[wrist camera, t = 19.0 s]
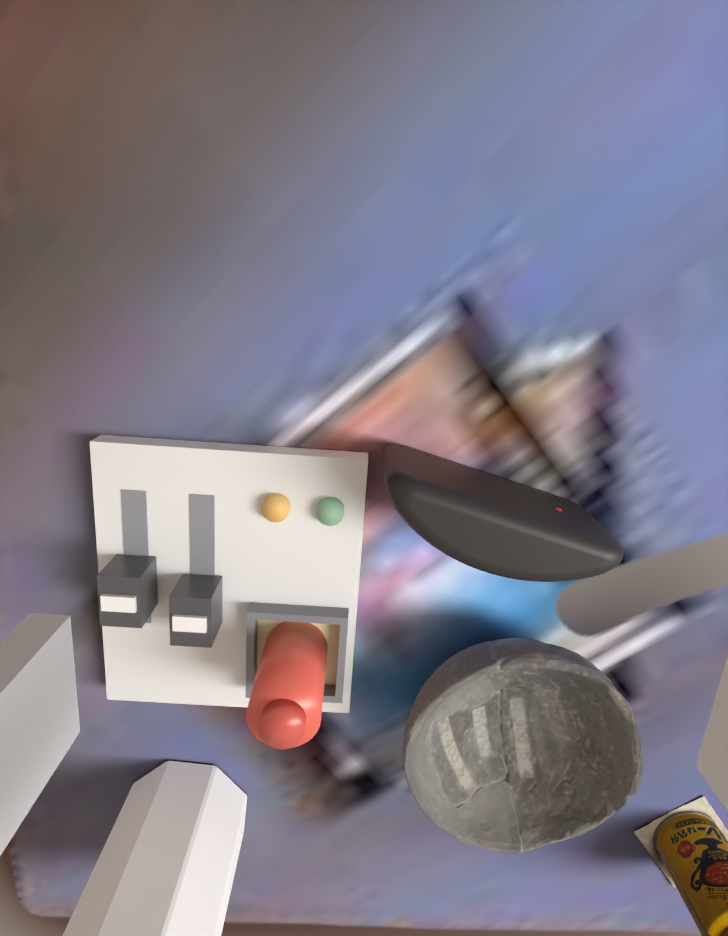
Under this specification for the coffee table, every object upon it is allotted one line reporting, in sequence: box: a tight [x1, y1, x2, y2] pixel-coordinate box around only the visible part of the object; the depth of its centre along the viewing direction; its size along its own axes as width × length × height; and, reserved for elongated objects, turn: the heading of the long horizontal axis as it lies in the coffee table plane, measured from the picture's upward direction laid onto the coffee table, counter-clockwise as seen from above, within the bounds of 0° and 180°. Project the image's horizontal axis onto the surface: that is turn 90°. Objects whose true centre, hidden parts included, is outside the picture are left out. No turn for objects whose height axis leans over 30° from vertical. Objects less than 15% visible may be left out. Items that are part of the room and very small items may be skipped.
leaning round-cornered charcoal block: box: [382, 444, 623, 582], centre depth 41 cm, size 16×5×9 cm, turn 71°
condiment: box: [634, 796, 728, 936], centre depth 50 cm, size 7×8×12 cm
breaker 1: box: [96, 554, 158, 628], centre depth 43 cm, size 4×3×4 cm
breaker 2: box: [169, 574, 222, 648], centre depth 44 cm, size 4×3×4 cm
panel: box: [90, 435, 368, 713], centre depth 46 cm, size 22×20×4 cm
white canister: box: [63, 761, 247, 936], centre depth 45 cm, size 11×11×18 cm
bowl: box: [403, 638, 643, 854], centre depth 47 cm, size 18×18×8 cm
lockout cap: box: [246, 621, 328, 749], centre depth 42 cm, size 5×5×9 cm
